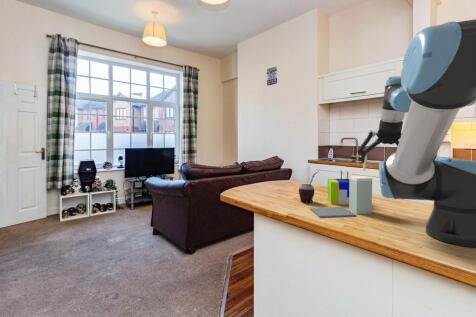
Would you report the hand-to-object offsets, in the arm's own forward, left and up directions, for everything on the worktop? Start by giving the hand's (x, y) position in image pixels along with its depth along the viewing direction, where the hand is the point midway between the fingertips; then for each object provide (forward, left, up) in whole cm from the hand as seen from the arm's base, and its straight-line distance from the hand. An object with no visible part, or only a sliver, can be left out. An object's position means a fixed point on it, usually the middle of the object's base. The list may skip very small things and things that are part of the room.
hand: (382, 171), depth 103 cm
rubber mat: (-7, +21, -16) cm, 27 cm away
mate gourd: (+10, +29, -16) cm, 34 cm away
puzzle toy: (+12, +14, -16) cm, 24 cm away
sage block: (-4, +10, -16) cm, 19 cm away
